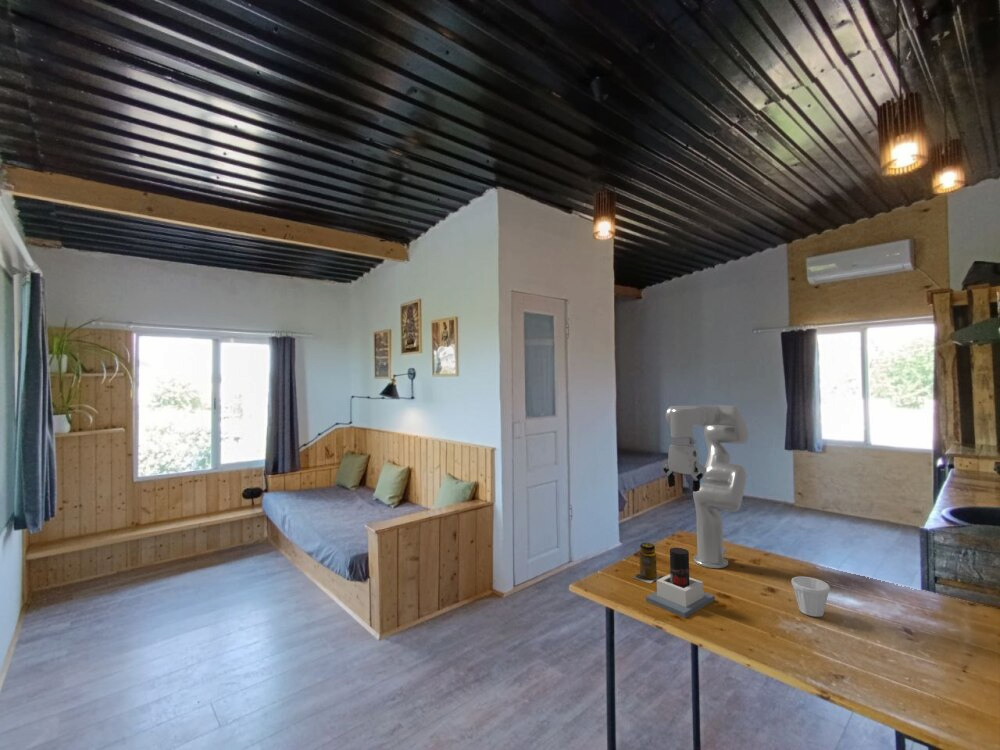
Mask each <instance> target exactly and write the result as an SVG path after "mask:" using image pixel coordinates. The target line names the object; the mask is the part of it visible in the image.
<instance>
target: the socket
mask: <svg viewBox="0 0 1000 750" xmlns="http://www.w3.org/2000/svg"><path fill="white" fill-rule="evenodd" d="M715 598H716V597H715V595H713V594H711V593H709V592H705V591H704V581H701V580H698V579H695V578H693V577H690V576H689V586H687V587H685V588H682V587H679V586H676V585H674V584H671V583H670V573H669V574H667V575H665V576H663V577H662V576H661V577H660V578H658V579H657V580H656V591H655V592H653V593H651V594H648V595H646V596H645V602H647V603H650V604H651V605H653V606H656V607H659V608H661V609H662V610H663V609H664V611H668V612H670V613H673V614H674V615H677V616H679V617H682V618H684V619H686V618H687V617H689V616H690V615H692V614H694V613H696V612H697V611H699V610H701V609H703V608H704V607H706V606H707V605H709V604H710V603H713V602H714V601H715Z"/></svg>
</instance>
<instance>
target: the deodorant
mask: <svg viewBox="0 0 1000 750" xmlns="http://www.w3.org/2000/svg"><path fill="white" fill-rule="evenodd" d="M689 553H690V551H689V550H688V549H686V548H682V547H671V548H670V549H669V568H670V569H669V570H670V573H669V574H670V583H671V584H674V585H676V586H679V587H682V588H685V587H687V586H689V577H690V555H689Z"/></svg>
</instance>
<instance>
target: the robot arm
mask: <svg viewBox="0 0 1000 750" xmlns="http://www.w3.org/2000/svg"><path fill="white" fill-rule="evenodd" d="M665 419H666V421H667V423H668V425H670V444H669V448H668V455H667V456H668V459H667V460H664V461H663V462H661V464H660V465H661V466H662V468H663V469H662V470H663V472H664V473H665V474H666V476H667V485H668V487H669V488H672V487H675V485H676V480H675V479H676V478H675V473H678V474H683V475H690V476H691V477H692V479H693V480H692V495H693V496H692V497H693V502H694V507H695V519H696V542H697V543H696V545H697V547H696V550H697V554H696V555H695V554H694V556H693V562H695V564H697V565H699V566H701V567H705V568H710V569H724V568H726V567H727V566H728V565H729V561H728V559H726V558H725V557H724V556H725V554H727V553H728V549H727V548H725V547H724V532H723V531H724V530H723V518H722V516H721V514H720V513H719V510H721V511H727V512H737V511H738V510H740V508H741V505H742V501H743V496H744V494H745V493H744V492H745V489H746V488H745V487H746V484H747V472H746V468H744V466H743V465H741V464H738V463H730V462H731V454H730V453H729V451H728V450H727V449H726V448H725V446H723V445H722V444H733V445H742V444H745V443H747V442H748V440H749V434H750V433H749V429H748V426H747V423H746V421H745V418H744V416H743V413H742V412H741V410H740V408H738V406H736V405H733V404H732V405H731V404H730V405H729V404H726V405H725V404H693V405H671V406H669V407H668V408H667V409H666V412H665ZM694 427H704V430H703V434H704V440H705V443H706V447H707V453H708V454H707V458H706V462H705V465H702V464H700V460H699V454H698V450H697V446H696V445H694V444H696V443H697V440H696V439H694V429H693V428H694ZM702 479H703V481H704V482H701V480H702Z"/></svg>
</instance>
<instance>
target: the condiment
mask: <svg viewBox="0 0 1000 750" xmlns="http://www.w3.org/2000/svg"><path fill="white" fill-rule="evenodd" d="M639 547H640V548H639V550H640V551H639V553H638V554H639V573H637V574H635V575H634V576H632V578H633V579H636V580H638V581H641V582H643V583H647V584H652V583H653V582H655V581H657V580H658V579H660V578H662V575H658V574H657V573H658V572H657V570H658V569H657V553H656V546H655V544H653V543H652V542H651V543H650V542H643V543H640V546H639Z"/></svg>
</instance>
